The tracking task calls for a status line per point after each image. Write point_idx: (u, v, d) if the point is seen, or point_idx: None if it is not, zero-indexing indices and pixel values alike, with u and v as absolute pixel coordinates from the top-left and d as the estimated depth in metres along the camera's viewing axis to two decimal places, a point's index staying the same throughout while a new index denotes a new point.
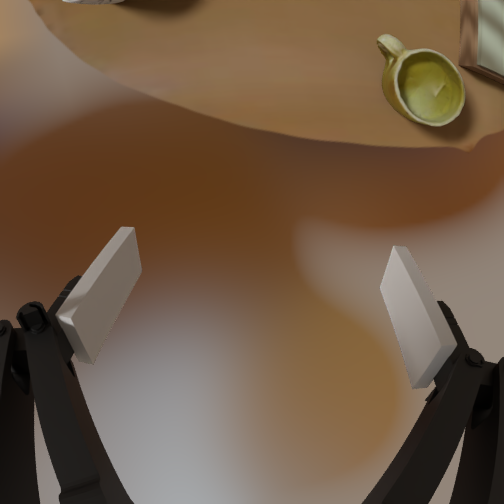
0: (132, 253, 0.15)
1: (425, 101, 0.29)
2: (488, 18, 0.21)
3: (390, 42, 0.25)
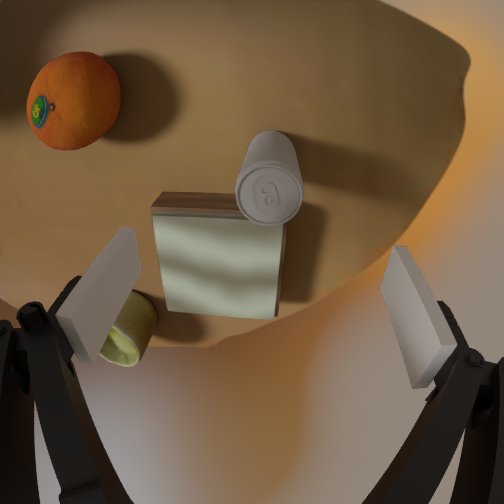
0: (132, 253, 0.15)
1: (123, 341, 0.41)
2: (168, 262, 0.33)
3: None
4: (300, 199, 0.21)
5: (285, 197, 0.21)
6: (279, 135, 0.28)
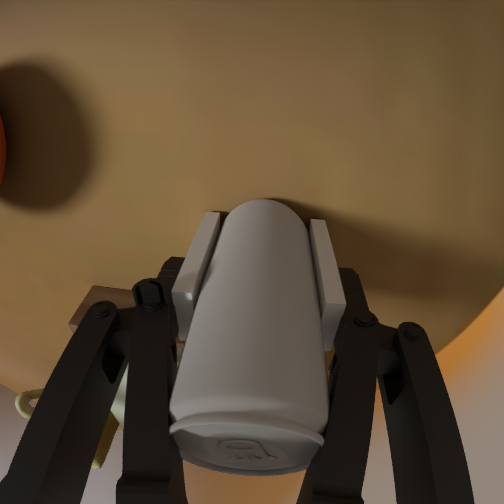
0: (217, 237, 0.16)
1: None
2: None
3: (19, 411, 0.23)
4: None
5: (286, 455, 0.07)
6: (279, 218, 0.14)
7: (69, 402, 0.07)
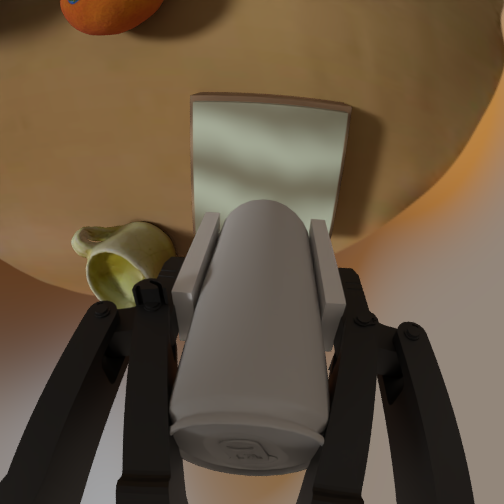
0: (218, 237, 0.16)
1: (133, 284, 0.35)
2: (205, 163, 0.27)
3: (75, 246, 0.31)
4: None
5: (286, 455, 0.07)
6: (279, 218, 0.14)
7: (69, 402, 0.07)
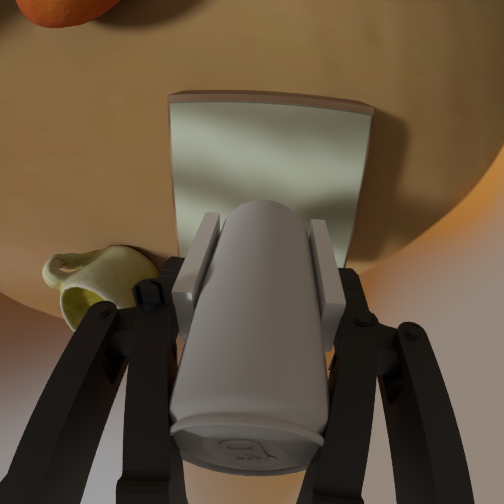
0: (218, 237, 0.16)
1: None
2: (188, 181, 0.21)
3: (46, 277, 0.25)
4: None
5: (285, 455, 0.07)
6: (279, 219, 0.14)
7: (69, 402, 0.07)
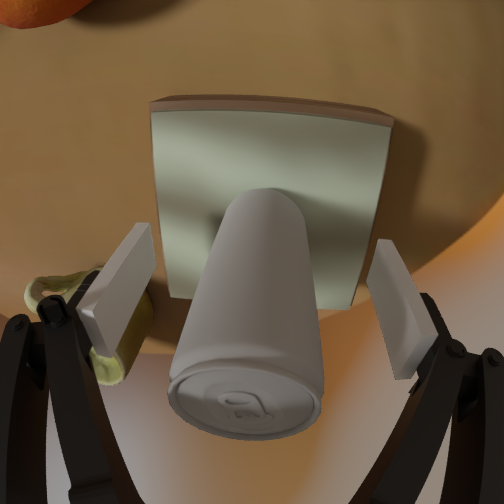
0: (148, 248, 0.15)
1: None
2: (174, 204, 0.18)
3: (27, 302, 0.22)
4: (314, 414, 0.08)
5: (281, 412, 0.08)
6: (277, 204, 0.15)
7: (8, 410, 0.06)
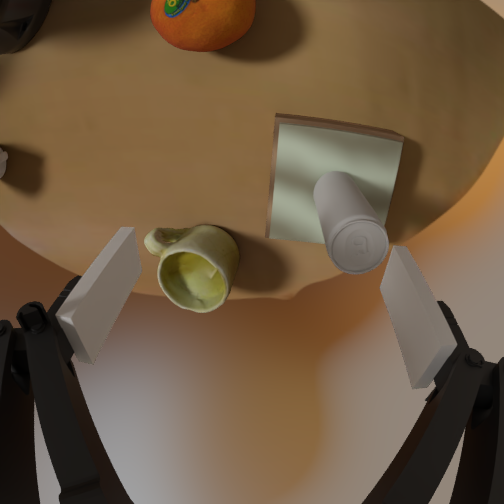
0: (132, 253, 0.15)
1: (201, 282, 0.40)
2: (285, 177, 0.32)
3: (149, 245, 0.36)
4: (385, 251, 0.22)
5: (373, 249, 0.22)
6: (348, 178, 0.29)
7: None
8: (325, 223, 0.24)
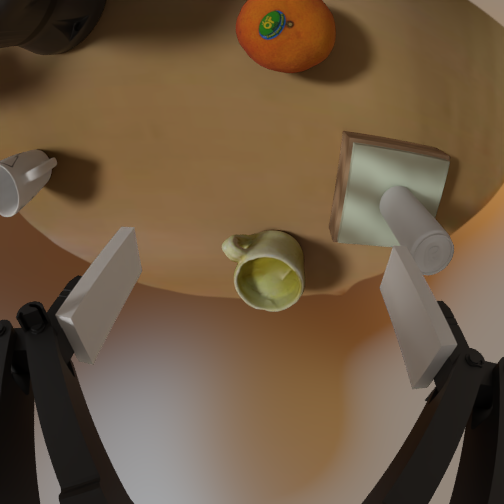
0: (132, 253, 0.15)
1: (272, 284, 0.43)
2: (357, 190, 0.35)
3: (229, 252, 0.39)
4: (450, 257, 0.26)
5: (443, 255, 0.26)
6: (410, 193, 0.32)
7: None
8: (405, 235, 0.28)
